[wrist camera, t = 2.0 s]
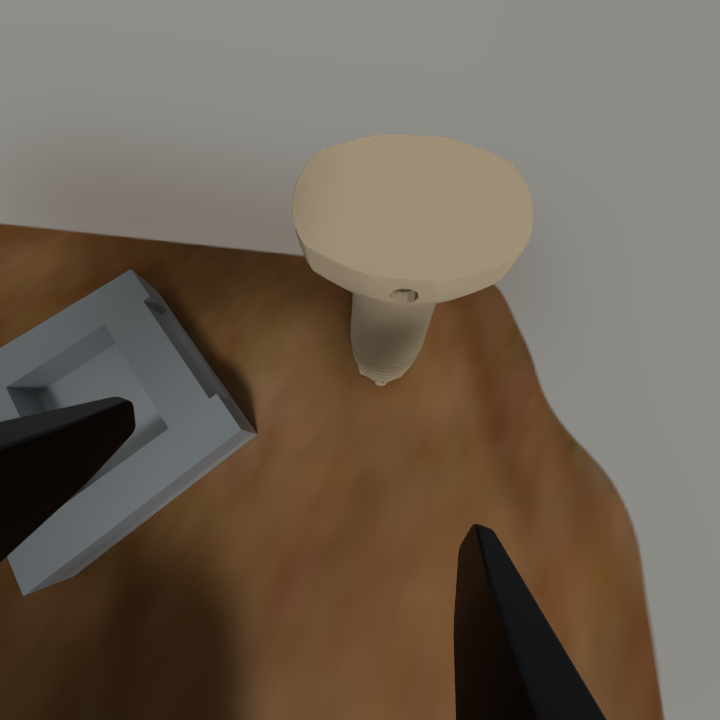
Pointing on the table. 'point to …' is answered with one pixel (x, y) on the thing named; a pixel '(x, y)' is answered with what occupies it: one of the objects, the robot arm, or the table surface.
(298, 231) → the handle
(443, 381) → the table surface
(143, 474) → the block
